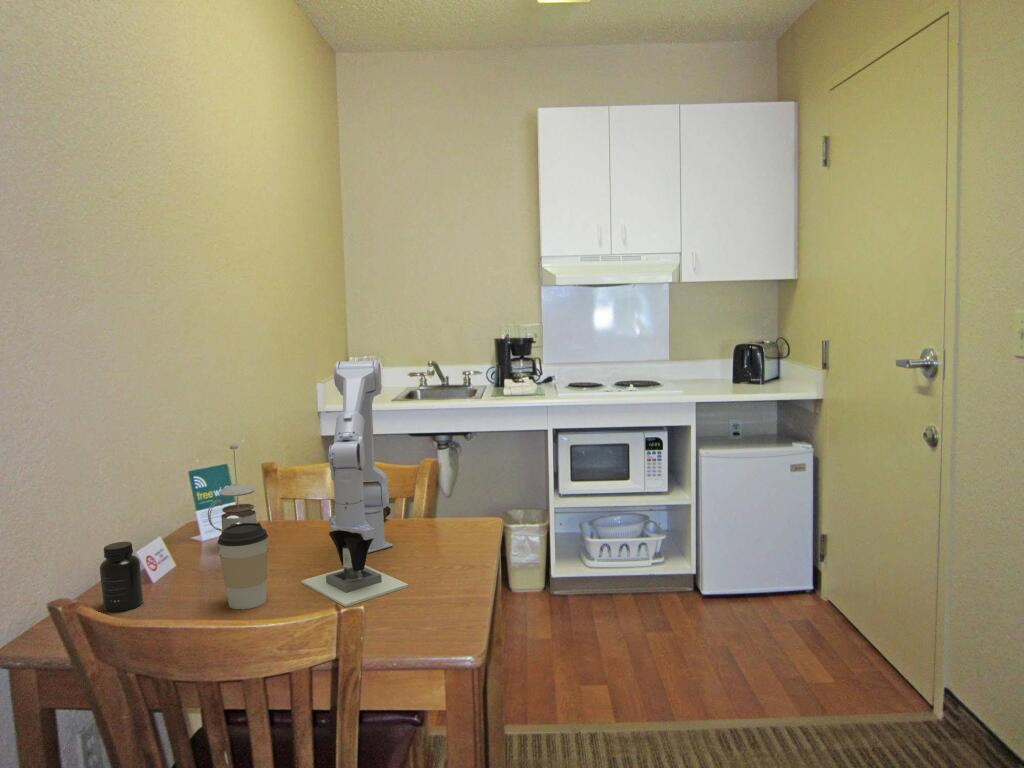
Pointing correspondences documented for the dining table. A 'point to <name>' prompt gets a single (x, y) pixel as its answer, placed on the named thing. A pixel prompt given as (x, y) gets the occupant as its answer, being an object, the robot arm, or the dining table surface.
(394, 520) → the dining table surface
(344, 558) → the key peg
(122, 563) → the supplement bottle
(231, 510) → the french press
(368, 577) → the socket
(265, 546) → the coffee cup
